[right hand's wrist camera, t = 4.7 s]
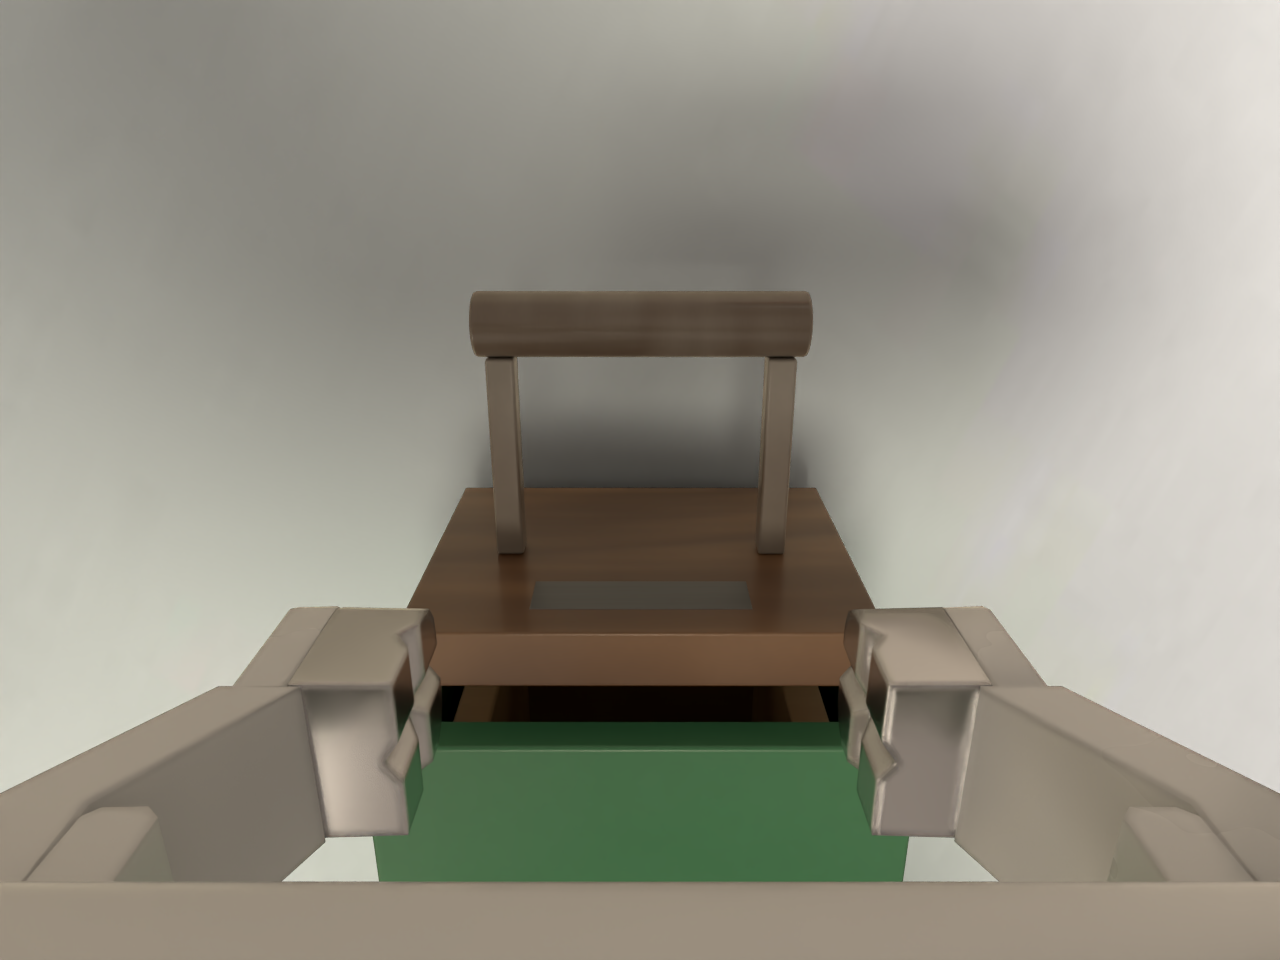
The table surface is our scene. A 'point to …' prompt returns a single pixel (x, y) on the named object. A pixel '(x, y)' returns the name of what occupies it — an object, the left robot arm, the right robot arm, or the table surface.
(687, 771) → the cabinet
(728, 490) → the drawer
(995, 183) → the table surface
